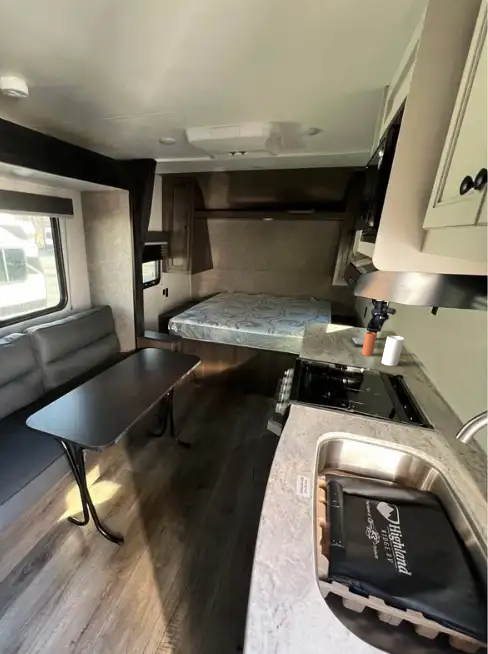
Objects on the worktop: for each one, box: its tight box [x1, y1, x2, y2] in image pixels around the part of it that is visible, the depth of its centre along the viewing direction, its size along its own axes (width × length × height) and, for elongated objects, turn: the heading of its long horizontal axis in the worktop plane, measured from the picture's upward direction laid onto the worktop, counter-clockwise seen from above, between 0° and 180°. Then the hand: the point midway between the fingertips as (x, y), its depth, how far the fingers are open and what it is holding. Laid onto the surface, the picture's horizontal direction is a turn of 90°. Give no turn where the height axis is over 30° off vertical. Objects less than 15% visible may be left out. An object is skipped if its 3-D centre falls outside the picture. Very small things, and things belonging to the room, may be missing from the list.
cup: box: [381, 335, 405, 367], centre depth 192 cm, size 8×8×16 cm
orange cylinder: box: [361, 331, 378, 357], centre depth 207 cm, size 6×6×14 cm
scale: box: [350, 337, 365, 348], centre depth 229 cm, size 15×11×3 cm
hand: (378, 327), depth 214 cm, fingers open, 9 cm apart
